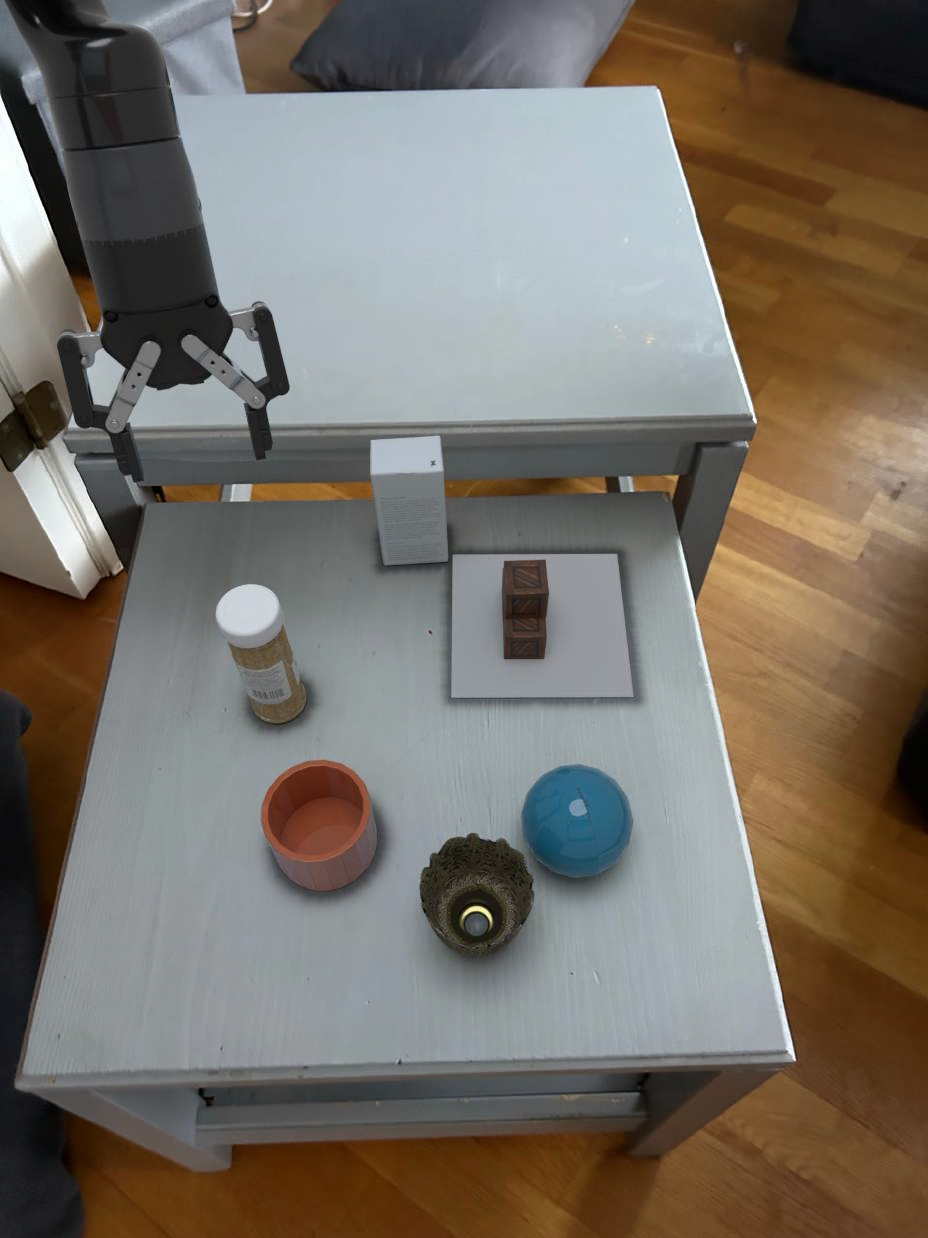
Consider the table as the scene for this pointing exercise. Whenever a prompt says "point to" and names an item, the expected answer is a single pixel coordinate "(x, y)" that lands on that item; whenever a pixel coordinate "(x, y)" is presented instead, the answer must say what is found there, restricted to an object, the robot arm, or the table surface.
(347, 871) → the pot
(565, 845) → the ball
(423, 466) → the cosmetic box
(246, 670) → the sprinkles bottle
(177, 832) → the table surface
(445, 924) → the cup
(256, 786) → the table surface
